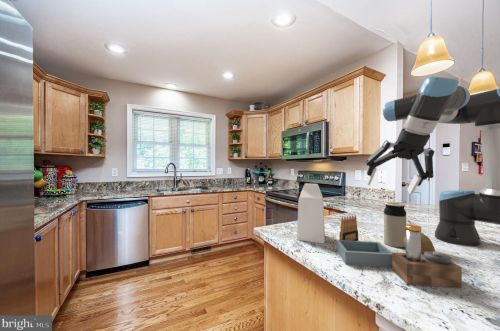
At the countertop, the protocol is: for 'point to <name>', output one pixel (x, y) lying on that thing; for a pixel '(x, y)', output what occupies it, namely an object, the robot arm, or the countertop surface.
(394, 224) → the travel mug
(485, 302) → the countertop surface
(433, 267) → the block
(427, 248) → the natural sponge
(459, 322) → the countertop surface
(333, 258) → the countertop surface
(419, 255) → the pin
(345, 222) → the ammunition clip
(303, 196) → the milk
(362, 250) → the tray
